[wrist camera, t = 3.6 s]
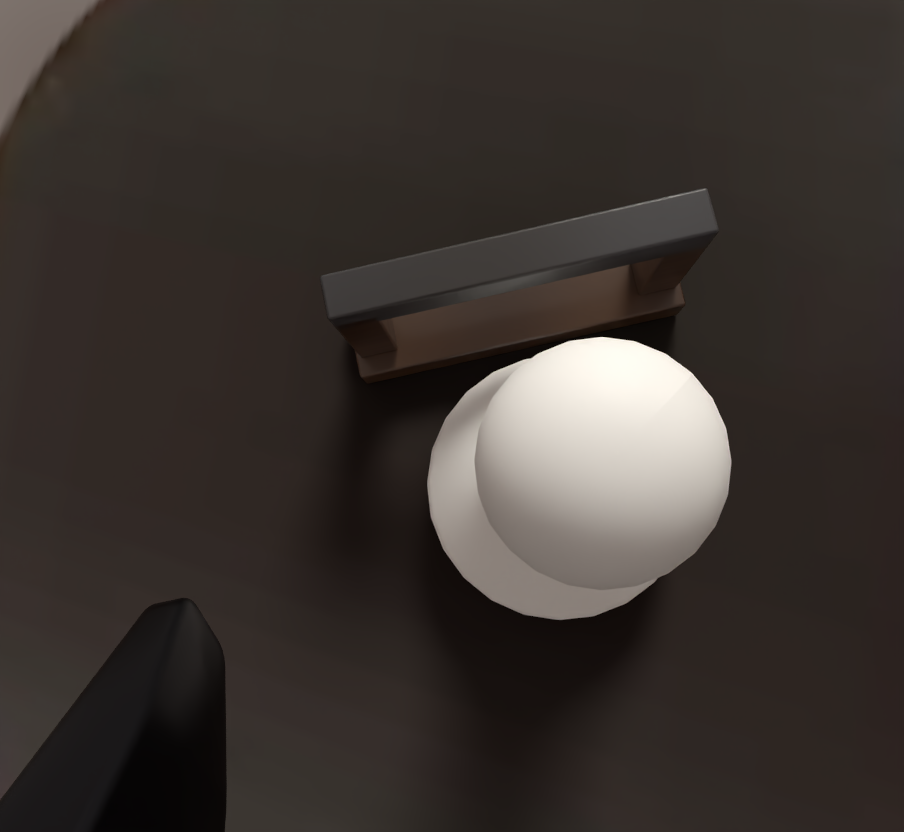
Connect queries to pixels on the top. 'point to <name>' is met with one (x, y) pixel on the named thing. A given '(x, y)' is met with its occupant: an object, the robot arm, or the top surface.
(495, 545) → the chess pawn
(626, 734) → the top surface
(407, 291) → the low rail
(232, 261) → the top surface
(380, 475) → the top surface
